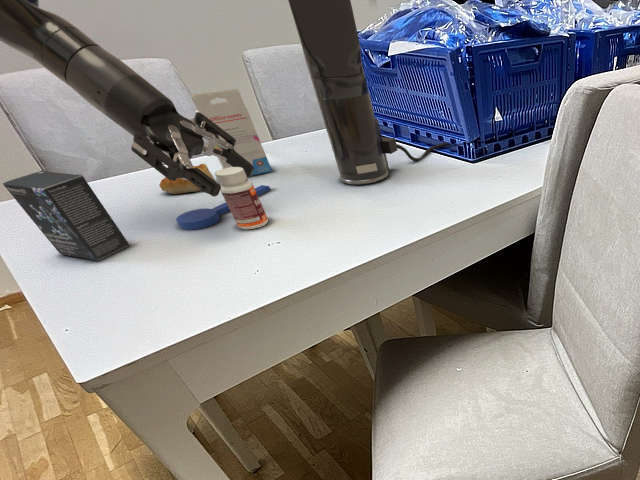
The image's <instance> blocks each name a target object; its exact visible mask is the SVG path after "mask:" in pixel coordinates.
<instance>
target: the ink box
mask: <svg viewBox="0 0 640 480" xmlns="http://www.w3.org/2000/svg"><path fill="white" fill-rule="evenodd" d="M216 98H219V99H226V101H222V102H215V103H212V102H211V101H212V100H216ZM191 100H192V102H193V104H194V106H195V107H196V110H195V113H196V112H199V113H202V114H203V115H204V116H206V117H207V118H208V119H210V120H211V121H212V122H214V123H215V124H216V125H217V126H219V127H220V128H221V129H223V130H224V131H225V132H227V133H228V134H229V135H231V136H232V137H233V138H234V139H235V140H236V143H235V145H234V150H235V151H236V152H237V153H238V154H240V155H241V156H242V157H243V158H244V159H246V160H247V161H248V162H250V163H251V165H252V166H253V167H254V171H253V174H252V176H256V175H261V174H266V173H271V172H273V169H272V167H271V165H270V161H269V160H268V157H267V155H266V152H265V150H264V147H263V145H262V142H261V140H260V138H259V135H258V132H257V130H256V127H255V125H254V123H253V120H252V118H251V116H250V113H249V110H248V108H247V107H246V106H245V105H246V104H245V102H244V100H243V98H242V96H241V93H240V91H239V89H238V88H232V89H223V90H216V91H209V92H202V93H193V94H192V95H191ZM219 139H220V140H223V141H226V140H225V139H223V138H222V137H221V136H220V135H219ZM214 148H215V149H218V150H221V151H222V149H221V148H220V147H218V146H214ZM216 157H217V156H216ZM217 159H218V162H219V164H220V165H221V169H224V168H230V167H232V166H231V165H230V164H228V163H227V162H226V160H225V159H222V158H219V157H217Z"/></svg>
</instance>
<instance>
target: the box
mask: <svg viewBox="0 0 640 480" xmlns="http://www.w3.org/2000/svg"><path fill="white" fill-rule="evenodd" d="M2 185H3V186H4V187H5V189H6V190H7V191H8V193H9V194H10V195H11V196H12V197H13V198H14V200H15V201H16V202H17V203H18V205H19V206H20V207H21V208H22V210H23V211H24V212H25V213H26V215H27V216H28V217H29V219H31V221H32V222H33V223H34V224H35V225H36V227H37V228H38V229H39V230H40V232H41V233H42V234H43V235H44V236H45V237H46V239H47V240H48V241H49V243H50V244H51V245H52V246H53V247H54V249H55V250H56V251H57V253H58V254H59V255H63V256H69V257H75V258H80V259H87V260H92V261H96V262H98V261H101V260H104V259H105V258H107V257H109V256H112V255H113V254H116V253H117V252H121V251H122V250H125V249H126V248H128V247H129V246H130V242H129V241H128V240H127V238H126V237H125V235H124V234H123V232H122V231H121V230H120V228H119V227H118V225H117V224H116V223H115V221H114V220H113V218H112V217H111V215H110V214H109V212H108V211H107V209H106V208H105V207H104V205H103V203H102V202H101V200H100V199H99V198H98V196H97V194H96V193H95V192H94V190H93V189H92V187H91V186H90V184H89V182H87V180H86V178H85V177H84V176H83V175H82V174H77V173H76V174H74V173H73V174H72V173H65V172H63V173H62V172H54V171H48V170H43V169H42V170H39V171H36V172H33V173H30V174H26V175H23V176H20V177H15V178H13V179H10V180H7V181H5V182H3V183H2Z"/></svg>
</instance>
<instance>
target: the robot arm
mask: <svg viewBox="0 0 640 480" xmlns="http://www.w3.org/2000/svg"><path fill="white" fill-rule="evenodd" d="M39 2H40V0H0V42H1V43H3V44H5V45H7V46H8V47H10V48H12V49H13V50H16V51H18V52H19V53H22V54H23V55H26V56H27V57H28V58H30V59H32V60H34V61H36V62H37V63H38V64H39V65H40V66H42V67H43V68H44V69H46V70H47V71H48V72H50V73H51V74H52V75H53V76H55V77H56V78H57V79H59V80H60V81H62V82H63V83H64V84H65V85H67V86H68V87H69V88H71V89H72V90H74V91H75V92H76V93H77V94H78V95H79V96H80V97H81V98H82V99H84V101H86V102H87V103H89V104H90V105H91V106H92V107H94V108H95V109H96V110H98V111H99V112H101V113H102V114H103V115H104V116H105V117H107V118H109V119H110V120H111V121H113V122H114V123H115V124H117V126H119V127H121V128H122V129H123V130H124V131H126V132H127V133H129V134H130V135H132V136H133V138H132V143H131V147H130V148H131V149H130V150H131V151H132V153H134V154H135V155H137V156H138V157H139V158H141V159H142V160H143V161H144V162H146V163H147V164H148V165H150V166H151V168H154V169H155V170H156V171H157V172H158V173H160V174H161V176H164V178H165V177H166V178H168V179H169V180H171V181H175V180H176V178H182V179H184V180H189V181H190V182H192V183H193V184H194V185H196V186H197V187H199V188H200V189H201V191H202V192H204V193H205V194H207V195H210V196H211V197H213V198H216V197H217V196H219V194H220V193H221V191H220V189H221V184H220V183H219V182H217V181H216V180H215V181H214V180H213V179H212V178H210V177H209V176H208V175H206V174H205V173H204V172H202V171H201V170H200V169H198V168H197V167H195V168H193V166H194V164H193V163H192V161H191V159H192V158H193V157H194V156H199V155H204V156H206V157H212V156H215V157H219V158H222V159H225V160H226V162H227V163H228V164H230V165H231V166H232V167H241V168H243V169H244V171H245V174H246V176H247V179H248V178H249V179H250V178H251V177H253V175H252V174H253V171H254V167H253V166H252V165H251V163H250V162H248V161H247V160H246V159H244V158H243V157H242V156H241V155H240V154H238V153H237V152H236V151H235V150H234V145H235V143H236V140H235V139H234V138H233V137H232V136H231V135H229V134H228V133H227V132H225V131H224V130H223V129H221V128H220V127H219V126H217V125H216V124H215V123H214V122H212V121H211V120H210V119H208V118H207V117H206V116H204V115H203V114H202V113H199V112H196V111H195V114H194V117H193V118H191V119H189V118H187V117H185V116H184V115H182V114H181V113H179V112H178V110H177V109H176V106H175V104H174V102H173V101H172V100H171V99H170V98H169V97H168V96H167V95H165V94H164V93H163V92H162V91H160V90H159V89H158V88H157V87H155V86H153V84H151V83H150V82H149V81H148V80H146V79H145V78H143V76H141V75H140V74H139V73H138V72H137V71H135V70H134V69H133V68H131V67H130V66H129V65H127V64H126V63H125V62H123V60H121V59H119V58H118V57H116V56H115V55H114V54H112V53H110V52H108V50H107V49H104V48H103V47H102V46H100V44H98V43H97V42H95V41H94V39H92V38H91V37H90V36H88V35H87V34H86V33H84V32H83V31H82V30H81V29H79V28H78V27H77V26H76V25H74V24H73V23H71V22H70V21H69V20H67V19H65V18H63V17H62V16H60V15H59V14H56V13H53V12H51V11H49V10H46V9H44V8H41V7H40V3H39ZM287 2H288V5H289V8H290V11H291V14H292V18H293V21H294V24H295V28H296V31H297V34H298V37H299V41H300V45H301V49H302V52H303V56H304V61H305V64H306V68H307V70H308V74H309V76H310V80H311V84H312V87H313V91H314V93H315V97H316V100H317V103H318V106H319V110H320V114H321V117H322V121H323V123H324V126H325V130H326V133H327V136H328V139H329V143H330V146H331V149H332V154H333V156H334V159H335V163H336V166H337V170H338V172H339V173H338V174H339V178H340V181H341V182H342V183H344V184H347V185H357V186H358V185H369V184H373V183H377V182H380V181H383V180H385V179H387V178H388V176H389V172H390V166H389V161H388V158H387V154H389V155H390V154H391V155H392V154H394V153H395V152H397V151H398V150H400V151H402V152H403V153H404V154H405V155H406V156H407V158H409V159H410V160H411V161H412V162H415V163H418V162H420V161H422V160H423V159H425V158H426V157H427V156H428V155H429V154H430V152H431V151H435V150H437V149H440V148H444V147H448V146H452V145H451V144H448V143H446V142H442V143H439V144H435V145H432V146H430V147H428V148H427V149H426V150H425V151H424V153H423V154H422V155H421V157H418V158H417V157H414V156H413V155H412V154H411V153H410V152H409V151H408V150H407V149H406V148H405V147H404V146H403V145H400V144H398V143H397V140H396V138H394V137H384V136H383V135H382V132H381V126H380V123H379V120H378V118H376V116H375V112H374V107H373V103H372V98H371V95H370V89H369V85H368V81H367V78H366V72H365V68H364V64H363V60H362V59H363V58H362V48H361V43H360V38H359V34H358V30H357V29H358V27H357V25H356V20H355V15H354V11H353V6H352V2H351V0H287ZM219 135H220V136H221V137H222V138H223V139H225V140H226V141H223V140H220V139H219ZM204 139H205V140H207V141H206V145H205V140H204ZM214 146H218V147H220V148H221V149H222V151H221V150H218V149H215V148H214Z"/></svg>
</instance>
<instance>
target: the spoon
mask: <svg viewBox="0 0 640 480" xmlns="http://www.w3.org/2000/svg"><path fill="white" fill-rule="evenodd" d="M254 188H255V190H256V193H257V195H258V197H259V196H261V195H263V194H265V193H266V194H267V193H268V192H270V191H271V187H270V185H264V184H263V185H262V184H261V185H259V186H257V187H254ZM229 211H230V209H229V207H228V205H227V203H226V201H225V202H223V203H221V204H219V205H217V206H214V207H212V208H206V207H205V208H196V209H192V210H188V211H185V212H183V213H181V214H179V215H178V216H177V217H176V219H175V220H176V222H177V224H178V226H179V227H180V229H182V230H187V231H189V230H199V229H204V228H208V227H211V226H213V225H215V224H217V223H218V222H219V221H220V219H221V218H220V216H221V215H223V214H225V213H227V212H229Z"/></svg>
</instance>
